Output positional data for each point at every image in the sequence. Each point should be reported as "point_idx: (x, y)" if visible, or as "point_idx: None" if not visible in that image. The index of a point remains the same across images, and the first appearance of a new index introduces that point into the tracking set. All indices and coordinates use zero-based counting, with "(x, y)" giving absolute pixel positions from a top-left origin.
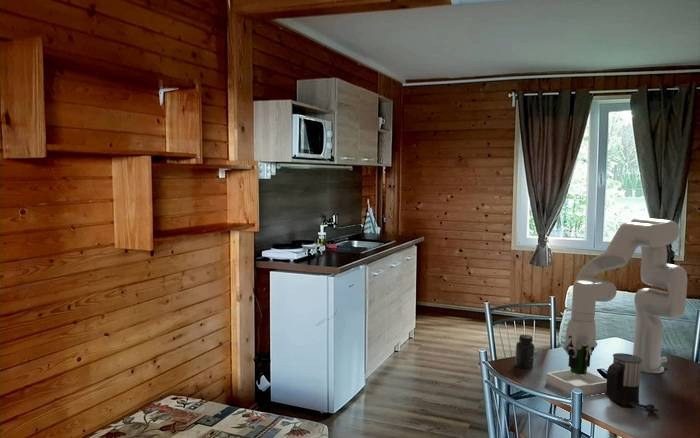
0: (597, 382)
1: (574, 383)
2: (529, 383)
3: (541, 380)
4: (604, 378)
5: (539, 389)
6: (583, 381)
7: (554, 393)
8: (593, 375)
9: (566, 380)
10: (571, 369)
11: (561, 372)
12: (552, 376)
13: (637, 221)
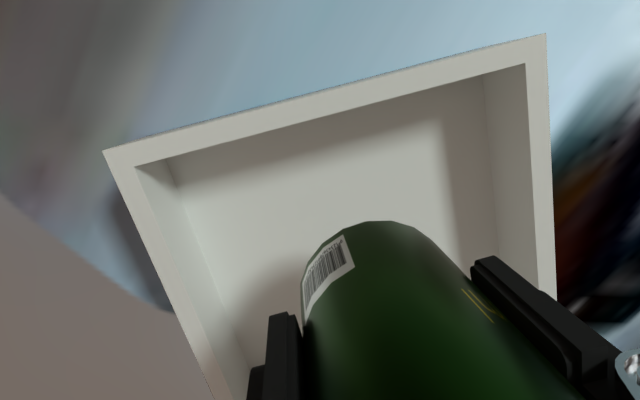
0: (507, 241)
1: (350, 201)
2: (6, 115)
3: (138, 60)
4: (556, 298)
5: (56, 231)
6: (442, 172)
7: (143, 296)
8: (530, 218)
9: (321, 141)
10: (301, 303)
11: (284, 125)
12: (139, 224)
13: None
